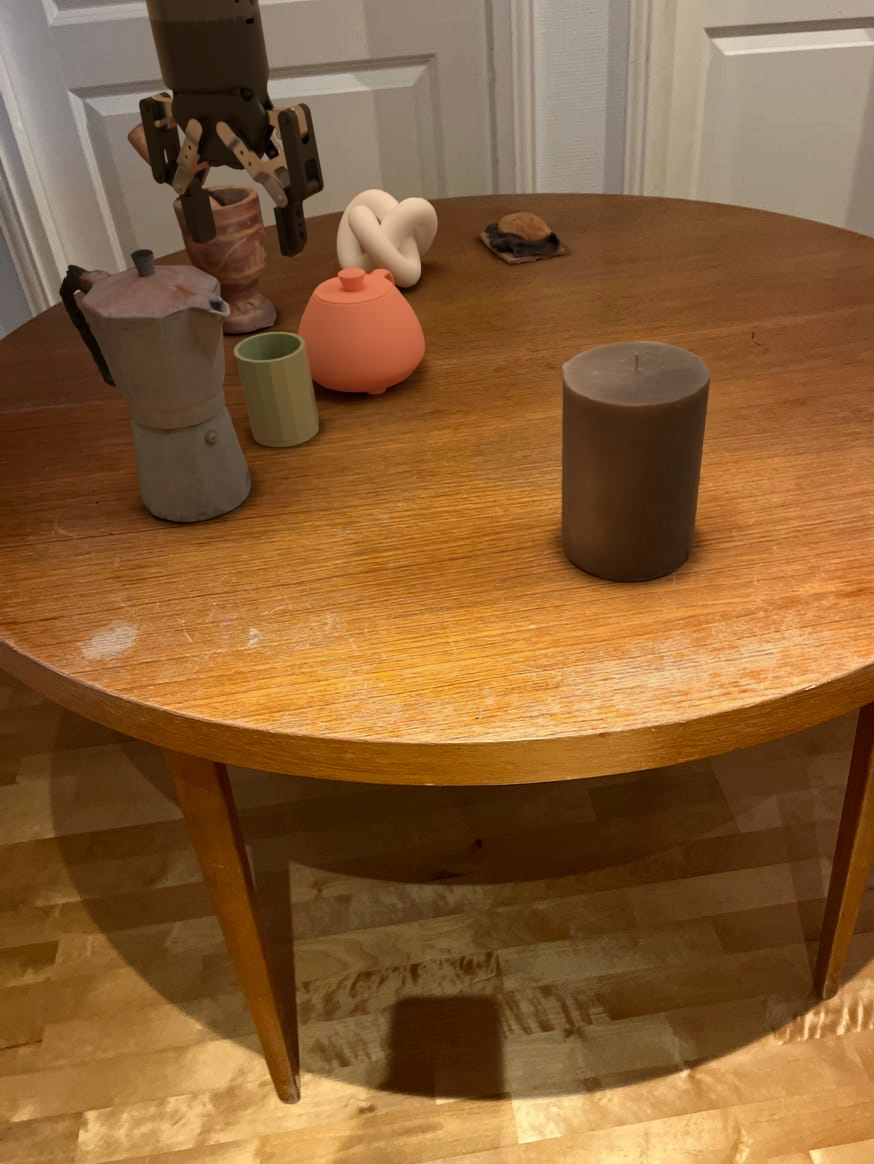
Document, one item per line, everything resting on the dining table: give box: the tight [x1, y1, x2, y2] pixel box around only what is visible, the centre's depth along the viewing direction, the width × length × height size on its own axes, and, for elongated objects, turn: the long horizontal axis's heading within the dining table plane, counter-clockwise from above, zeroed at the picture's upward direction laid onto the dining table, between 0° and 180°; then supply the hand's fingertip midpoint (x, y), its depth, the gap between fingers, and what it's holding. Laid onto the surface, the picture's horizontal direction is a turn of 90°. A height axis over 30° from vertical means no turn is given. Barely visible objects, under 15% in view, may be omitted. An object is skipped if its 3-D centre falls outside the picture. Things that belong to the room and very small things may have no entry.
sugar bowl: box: [297, 268, 426, 395], centre depth 93 cm, size 12×14×10 cm
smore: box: [479, 211, 566, 265], centre depth 120 cm, size 11×8×4 cm
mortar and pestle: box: [127, 121, 278, 334], centre depth 101 cm, size 12×9×20 cm
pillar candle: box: [560, 340, 711, 582], centre depth 68 cm, size 10×10×15 cm
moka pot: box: [58, 248, 253, 523], centre depth 74 cm, size 10×15×20 cm, turn 70°
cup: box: [232, 331, 320, 448], centre depth 86 cm, size 6×6×8 cm
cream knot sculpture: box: [336, 188, 438, 289], centre depth 112 cm, size 11×12×9 cm
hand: (249, 247), depth 78 cm, fingers open, 8 cm apart
